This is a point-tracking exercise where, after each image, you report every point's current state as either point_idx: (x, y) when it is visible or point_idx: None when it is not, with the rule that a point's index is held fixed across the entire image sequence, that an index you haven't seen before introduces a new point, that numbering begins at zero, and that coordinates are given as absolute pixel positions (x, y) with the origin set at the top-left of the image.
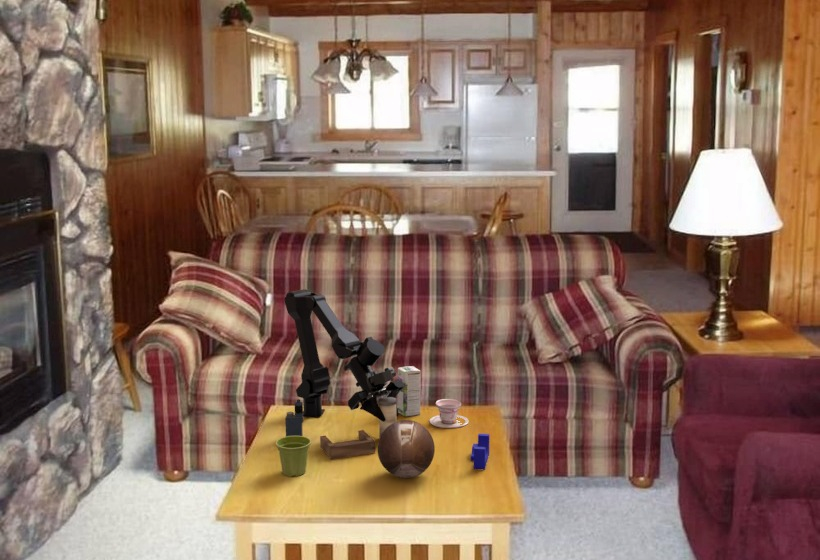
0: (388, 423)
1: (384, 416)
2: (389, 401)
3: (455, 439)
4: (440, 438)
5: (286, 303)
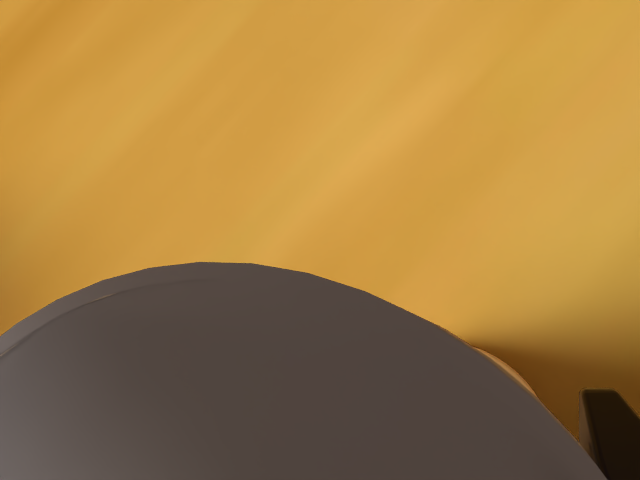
0: (507, 370)
1: (598, 437)
2: (339, 436)
3: (45, 3)
4: (93, 93)
5: None
